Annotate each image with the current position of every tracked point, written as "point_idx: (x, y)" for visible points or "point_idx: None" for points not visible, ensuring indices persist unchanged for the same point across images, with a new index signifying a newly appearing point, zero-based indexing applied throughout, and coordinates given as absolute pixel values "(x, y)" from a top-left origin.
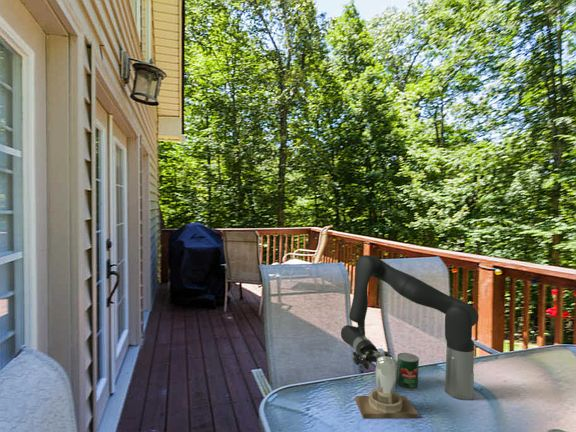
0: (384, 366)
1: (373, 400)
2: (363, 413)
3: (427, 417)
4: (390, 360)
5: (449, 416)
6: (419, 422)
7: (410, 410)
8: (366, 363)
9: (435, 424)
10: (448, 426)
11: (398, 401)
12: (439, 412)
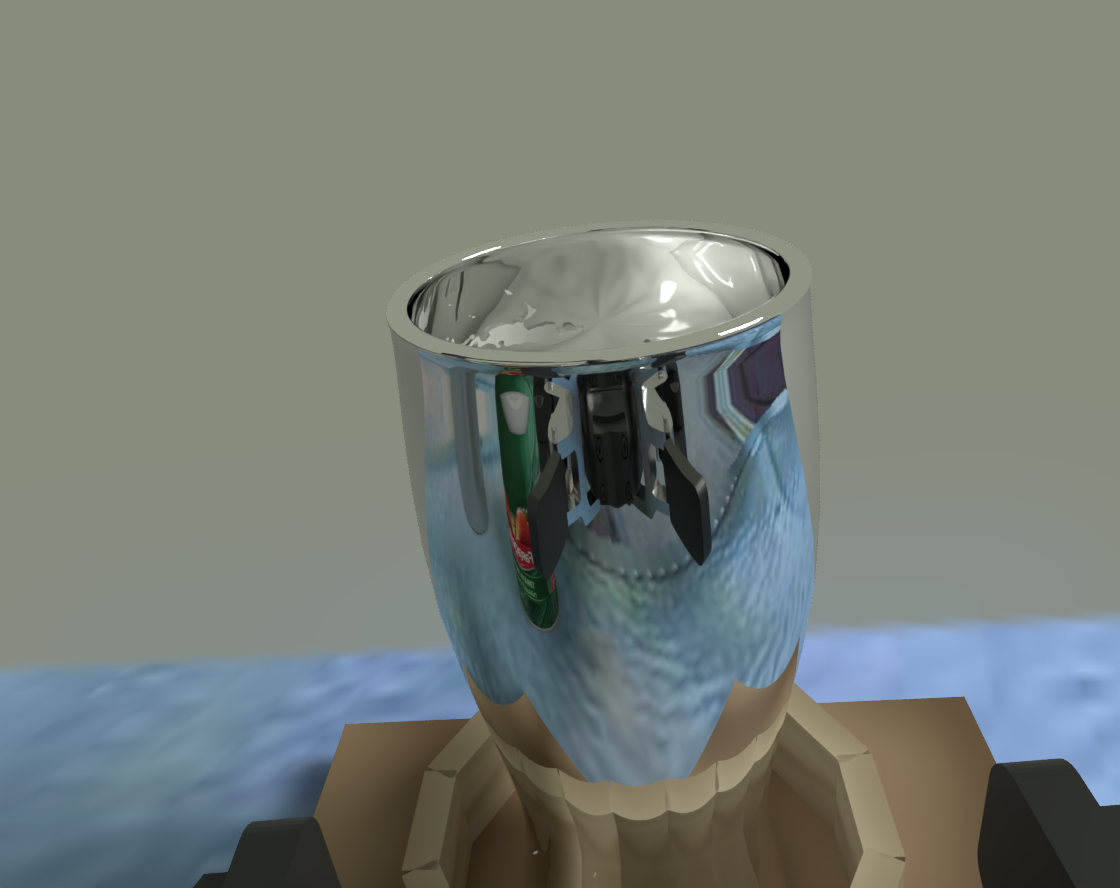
0: (684, 265)
1: (841, 725)
2: (962, 700)
3: (248, 775)
4: (444, 409)
5: (8, 797)
6: (387, 705)
7: (390, 769)
8: (1074, 772)
9: (263, 688)
10: (176, 671)
11: (459, 858)
12: (32, 861)
